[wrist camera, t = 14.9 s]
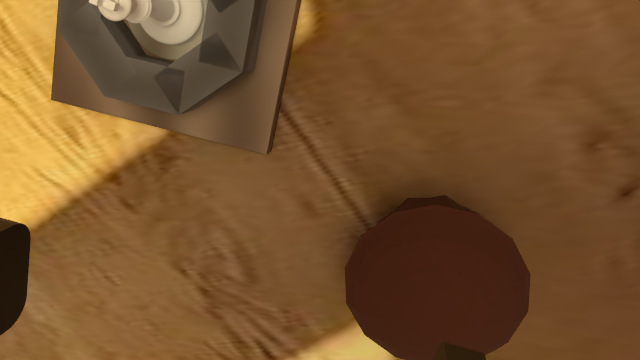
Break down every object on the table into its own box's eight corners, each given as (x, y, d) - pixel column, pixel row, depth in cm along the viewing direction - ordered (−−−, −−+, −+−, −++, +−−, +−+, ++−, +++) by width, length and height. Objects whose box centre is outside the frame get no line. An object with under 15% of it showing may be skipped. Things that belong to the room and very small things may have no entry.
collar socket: (319, -92, 36) (308, -110, 31) (271, 150, 41) (255, 164, 36) (82, -143, 37) (40, -166, 33) (63, 97, 42) (24, 104, 38)
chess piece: (151, -41, 37) (62, -68, 27) (216, -12, 36) (150, -28, 27) (131, 28, 38) (39, 26, 28) (193, 57, 38) (123, 64, 28)
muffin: (530, 199, 39) (572, 252, 29) (488, 331, 42) (514, 419, 32) (368, 164, 40) (357, 205, 30) (340, 295, 43) (322, 370, 33)
